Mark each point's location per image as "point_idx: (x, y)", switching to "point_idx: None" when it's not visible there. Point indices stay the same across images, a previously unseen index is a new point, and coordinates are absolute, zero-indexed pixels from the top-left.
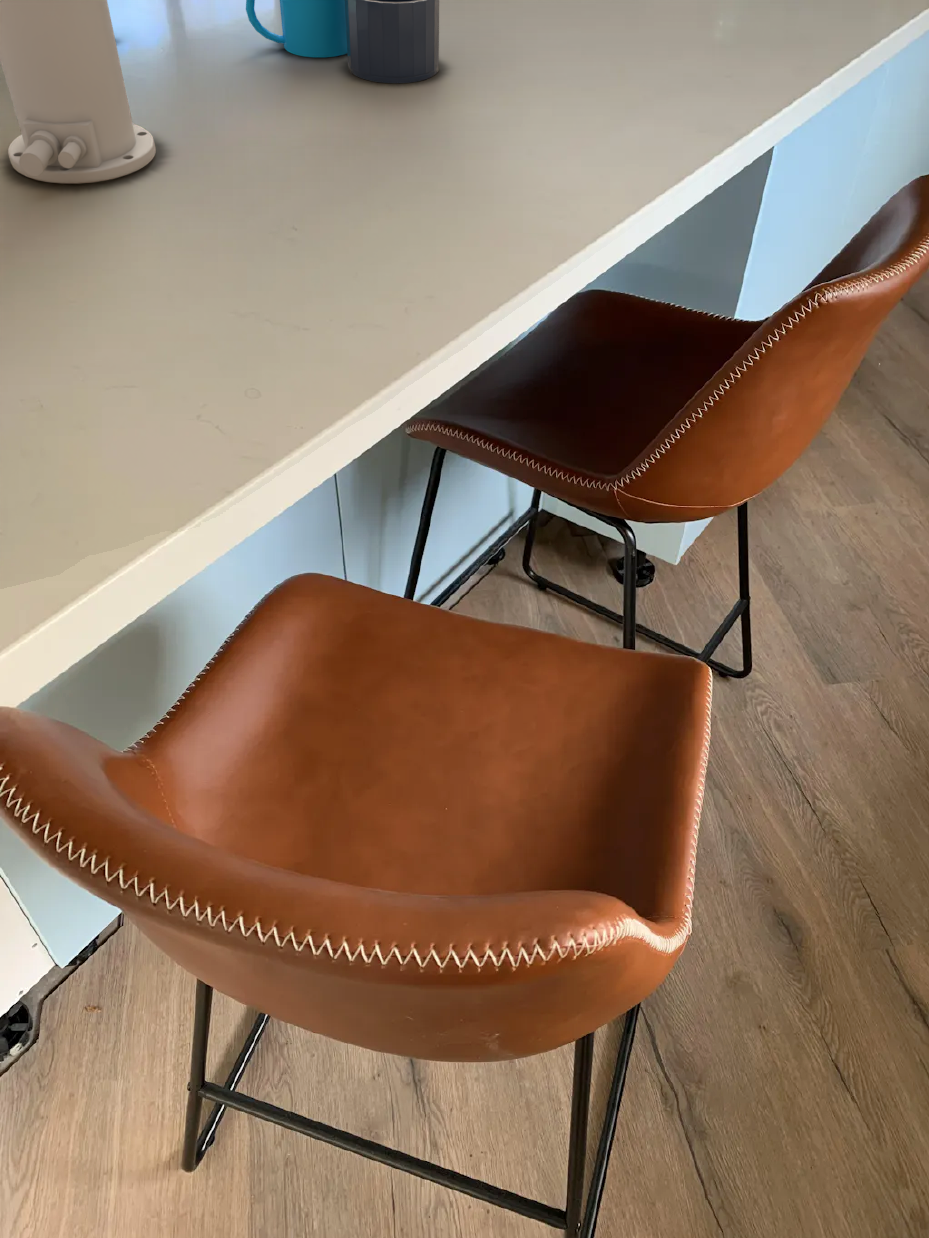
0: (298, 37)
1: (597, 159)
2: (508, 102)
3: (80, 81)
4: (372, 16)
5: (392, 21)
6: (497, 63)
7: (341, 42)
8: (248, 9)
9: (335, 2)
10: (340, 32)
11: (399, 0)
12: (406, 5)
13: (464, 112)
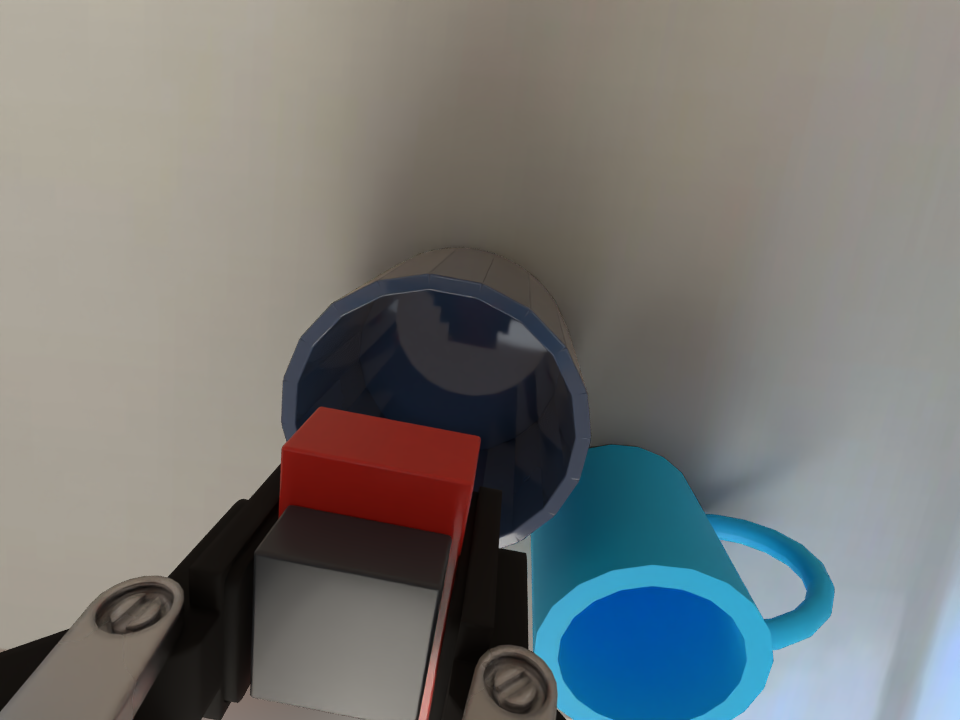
0: (680, 483)
1: None
2: (197, 82)
3: None
4: (517, 292)
5: (456, 269)
6: (216, 367)
7: None
8: (820, 564)
9: (592, 518)
10: None
11: None
12: (400, 276)
13: (313, 9)
